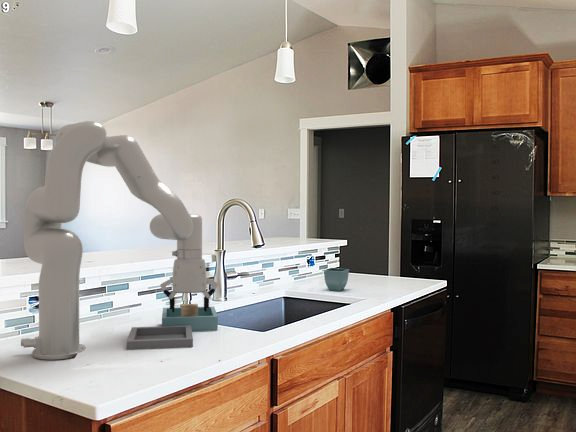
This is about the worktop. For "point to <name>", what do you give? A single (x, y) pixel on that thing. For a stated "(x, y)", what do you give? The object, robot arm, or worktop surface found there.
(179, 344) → the bin
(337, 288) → the flower pot
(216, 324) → the tray
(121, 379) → the worktop surface
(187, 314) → the oak block
